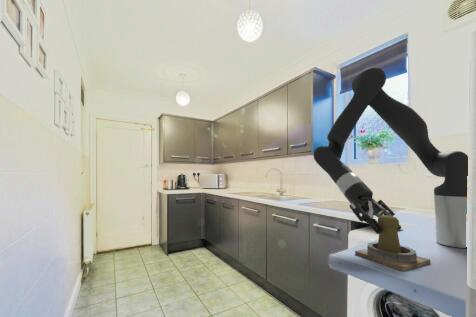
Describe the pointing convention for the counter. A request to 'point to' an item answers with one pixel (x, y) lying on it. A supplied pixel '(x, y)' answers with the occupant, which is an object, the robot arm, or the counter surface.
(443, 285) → the counter surface
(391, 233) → the brown tapered knobbed cylinder
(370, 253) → the spice stand
